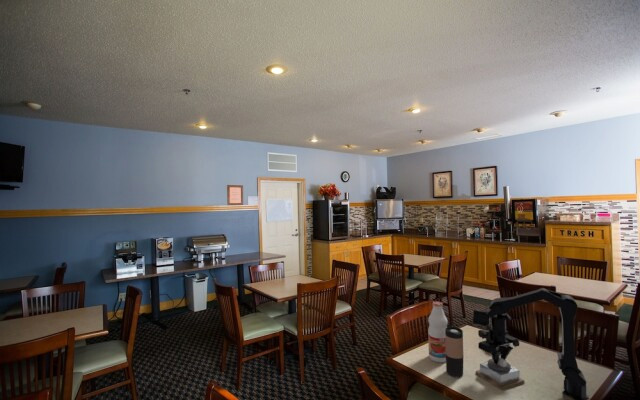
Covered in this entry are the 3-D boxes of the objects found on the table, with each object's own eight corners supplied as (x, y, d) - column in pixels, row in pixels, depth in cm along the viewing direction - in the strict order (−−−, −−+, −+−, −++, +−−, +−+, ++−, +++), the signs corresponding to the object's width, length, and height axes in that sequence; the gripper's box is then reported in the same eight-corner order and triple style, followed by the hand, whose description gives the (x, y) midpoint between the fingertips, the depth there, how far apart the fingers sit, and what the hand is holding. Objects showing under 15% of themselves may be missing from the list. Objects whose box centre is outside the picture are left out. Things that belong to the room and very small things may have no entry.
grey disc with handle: (515, 376, 143) (515, 360, 143) (500, 380, 140) (500, 364, 140) (497, 366, 151) (497, 351, 151) (483, 370, 148) (483, 355, 148)
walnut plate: (524, 383, 141) (524, 380, 141) (502, 390, 137) (502, 387, 137) (496, 367, 154) (496, 365, 154) (475, 373, 150) (475, 371, 150)
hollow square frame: (519, 379, 142) (519, 369, 142) (501, 384, 138) (501, 375, 138) (497, 367, 153) (497, 358, 153) (479, 372, 149) (479, 363, 149)
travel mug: (448, 367, 156) (448, 325, 156) (465, 372, 151) (465, 329, 151) (443, 374, 150) (442, 330, 150) (460, 379, 145) (460, 334, 145)
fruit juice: (445, 354, 169) (444, 300, 169) (451, 363, 159) (450, 306, 159) (426, 353, 169) (425, 300, 169) (431, 363, 160) (430, 306, 160)
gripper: (498, 318, 156) (498, 351, 156) (468, 325, 150) (468, 358, 150) (519, 327, 146) (520, 361, 146) (488, 334, 139) (489, 370, 139)
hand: (499, 362), depth 146 cm, fingers open, 4 cm apart
